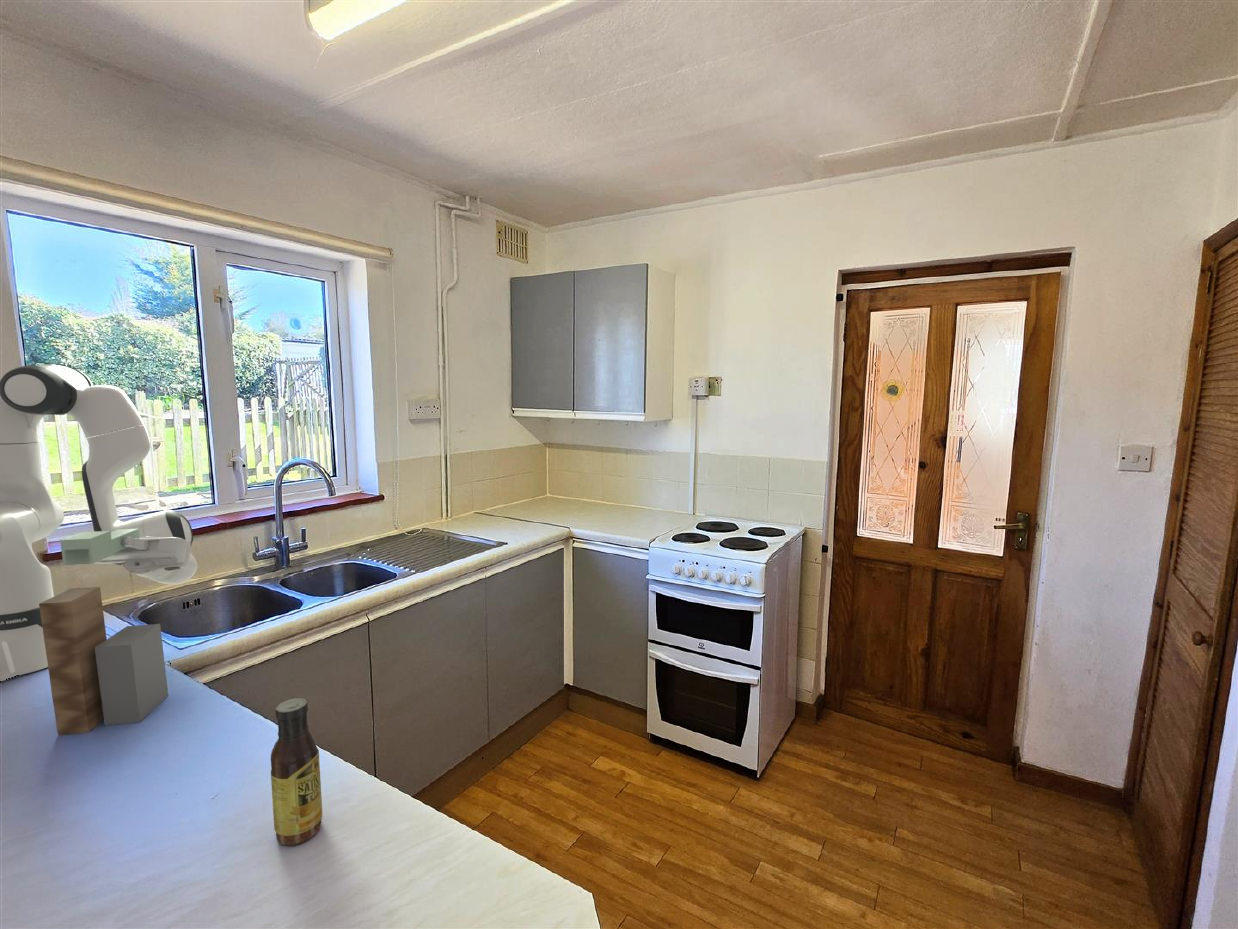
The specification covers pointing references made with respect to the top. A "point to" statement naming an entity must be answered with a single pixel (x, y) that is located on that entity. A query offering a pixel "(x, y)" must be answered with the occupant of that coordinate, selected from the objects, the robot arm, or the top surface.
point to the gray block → (131, 673)
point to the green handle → (93, 545)
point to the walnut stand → (74, 657)
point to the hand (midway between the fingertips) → (110, 541)
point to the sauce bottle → (295, 776)
